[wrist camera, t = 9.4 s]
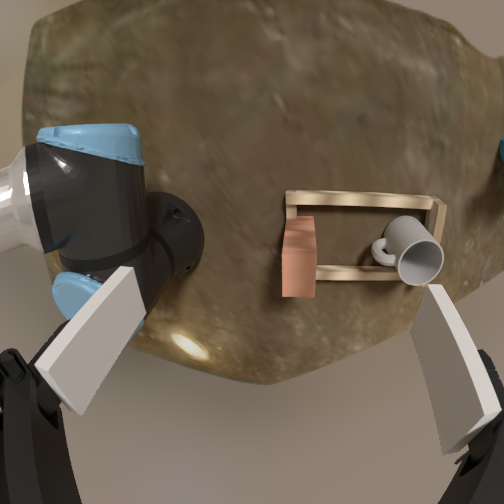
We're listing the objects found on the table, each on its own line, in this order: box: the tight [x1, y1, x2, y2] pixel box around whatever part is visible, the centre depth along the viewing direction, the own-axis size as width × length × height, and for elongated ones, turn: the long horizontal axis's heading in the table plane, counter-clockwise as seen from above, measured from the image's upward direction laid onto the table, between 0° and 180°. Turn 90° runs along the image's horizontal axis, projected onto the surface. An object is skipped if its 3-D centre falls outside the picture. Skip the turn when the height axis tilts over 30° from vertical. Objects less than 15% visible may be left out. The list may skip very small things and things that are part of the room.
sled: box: [282, 190, 447, 297], centre depth 37 cm, size 24×14×12 cm, turn 94°
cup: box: [371, 216, 444, 286], centre depth 38 cm, size 7×10×9 cm
